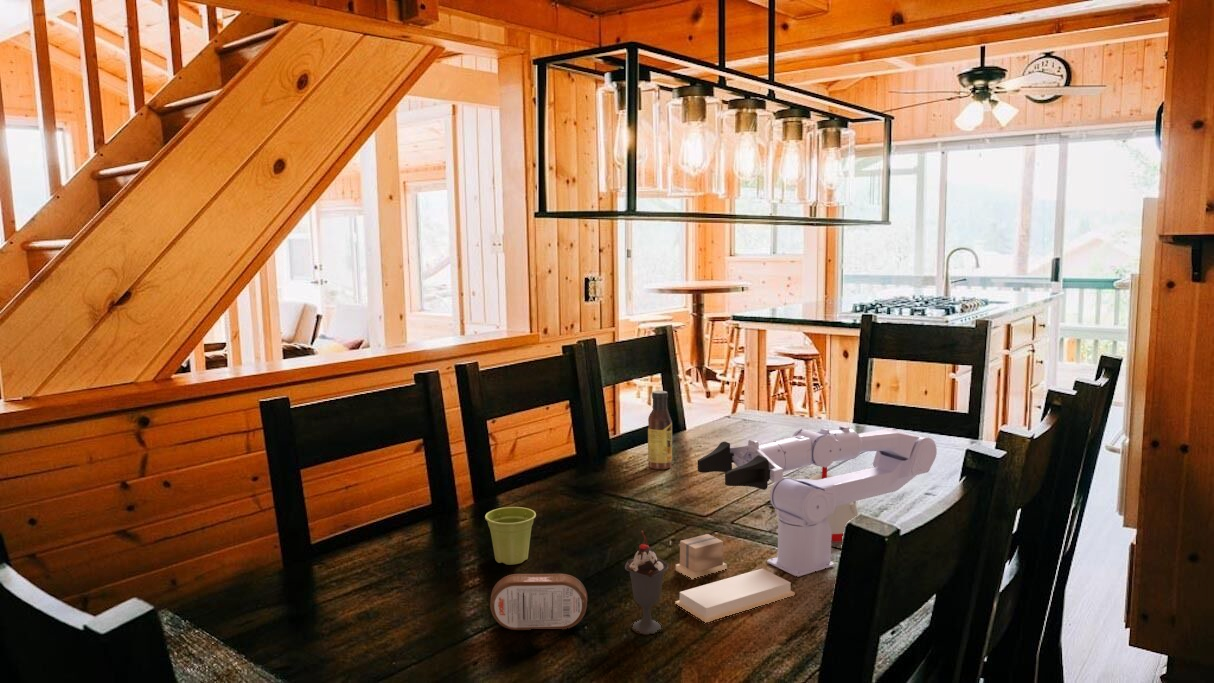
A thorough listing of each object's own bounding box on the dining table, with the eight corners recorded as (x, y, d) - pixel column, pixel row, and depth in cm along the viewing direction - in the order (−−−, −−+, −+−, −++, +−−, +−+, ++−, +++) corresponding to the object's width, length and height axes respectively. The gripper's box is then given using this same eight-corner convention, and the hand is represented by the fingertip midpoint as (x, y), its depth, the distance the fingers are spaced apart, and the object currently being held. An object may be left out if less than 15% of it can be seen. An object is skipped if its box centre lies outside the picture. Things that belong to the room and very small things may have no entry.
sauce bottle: (672, 470, 213) (673, 394, 210) (648, 470, 213) (648, 394, 211) (671, 463, 220) (671, 389, 217) (647, 463, 220) (647, 389, 217)
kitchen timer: (857, 521, 176) (860, 452, 174) (858, 545, 163) (861, 470, 161) (790, 515, 180) (792, 448, 178) (786, 538, 166) (788, 465, 164)
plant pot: (481, 553, 159) (480, 509, 158) (529, 546, 162) (528, 503, 161) (492, 572, 150) (491, 526, 149) (542, 564, 153) (541, 519, 152)
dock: (675, 604, 137) (675, 591, 136) (762, 579, 147) (762, 566, 146) (705, 624, 130) (705, 610, 130) (794, 595, 140) (794, 582, 140)
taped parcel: (710, 561, 155) (710, 532, 154) (726, 570, 151) (727, 540, 150) (675, 570, 151) (675, 541, 150) (692, 580, 147) (692, 549, 146)
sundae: (641, 613, 134) (642, 524, 132) (676, 626, 129) (677, 533, 127) (616, 629, 128) (615, 535, 126) (651, 642, 124) (651, 546, 122)
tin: (587, 622, 131) (587, 571, 130) (587, 631, 128) (587, 579, 127) (491, 623, 131) (490, 572, 129) (489, 633, 127) (488, 581, 126)
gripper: (748, 425, 152) (687, 438, 146) (803, 446, 140) (739, 462, 133) (748, 462, 153) (687, 477, 147) (802, 486, 141) (739, 503, 134)
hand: (712, 472), depth 140 cm, fingers open, 7 cm apart
